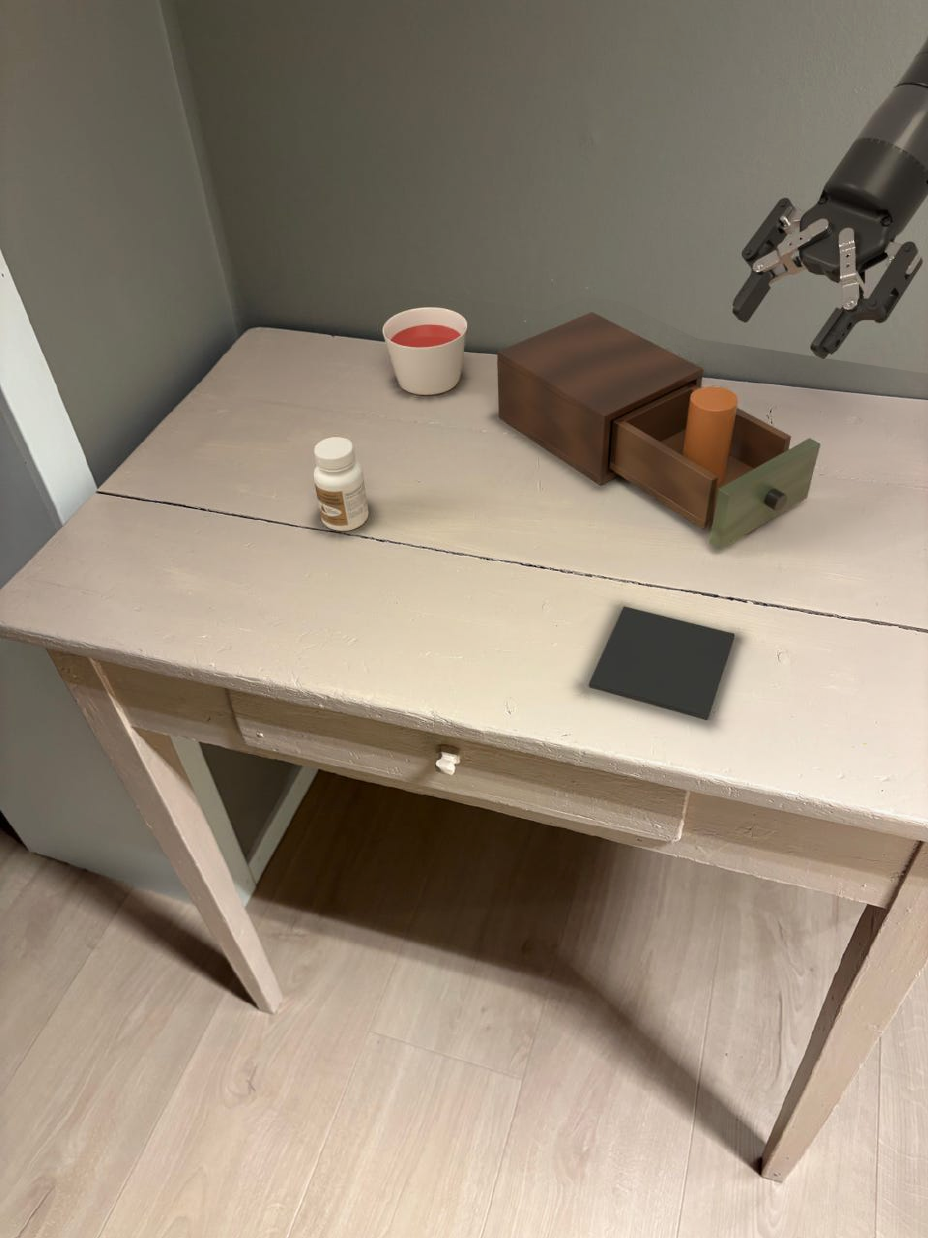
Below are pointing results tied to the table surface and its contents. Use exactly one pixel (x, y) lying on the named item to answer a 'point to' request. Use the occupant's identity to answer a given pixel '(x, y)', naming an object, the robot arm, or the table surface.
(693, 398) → the spice tin
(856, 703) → the table surface
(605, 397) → the cabinet
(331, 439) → the pill bottle
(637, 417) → the drawer
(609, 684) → the mat
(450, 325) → the candle
